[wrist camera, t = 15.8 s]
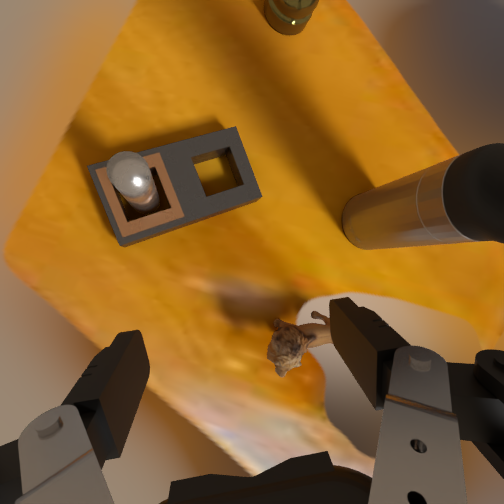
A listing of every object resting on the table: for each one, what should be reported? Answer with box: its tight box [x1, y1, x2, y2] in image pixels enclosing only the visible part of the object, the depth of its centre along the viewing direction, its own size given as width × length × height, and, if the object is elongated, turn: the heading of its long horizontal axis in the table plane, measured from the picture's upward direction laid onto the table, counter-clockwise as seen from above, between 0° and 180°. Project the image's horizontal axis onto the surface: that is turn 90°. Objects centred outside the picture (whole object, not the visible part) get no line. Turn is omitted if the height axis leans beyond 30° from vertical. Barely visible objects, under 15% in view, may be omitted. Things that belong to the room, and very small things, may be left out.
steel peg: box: [106, 151, 160, 214], centre depth 30 cm, size 4×4×12 cm
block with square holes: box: [87, 126, 262, 247], centre depth 36 cm, size 19×10×3 cm, turn 112°
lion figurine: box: [267, 311, 333, 377], centre depth 36 cm, size 15×5×9 cm, turn 104°
